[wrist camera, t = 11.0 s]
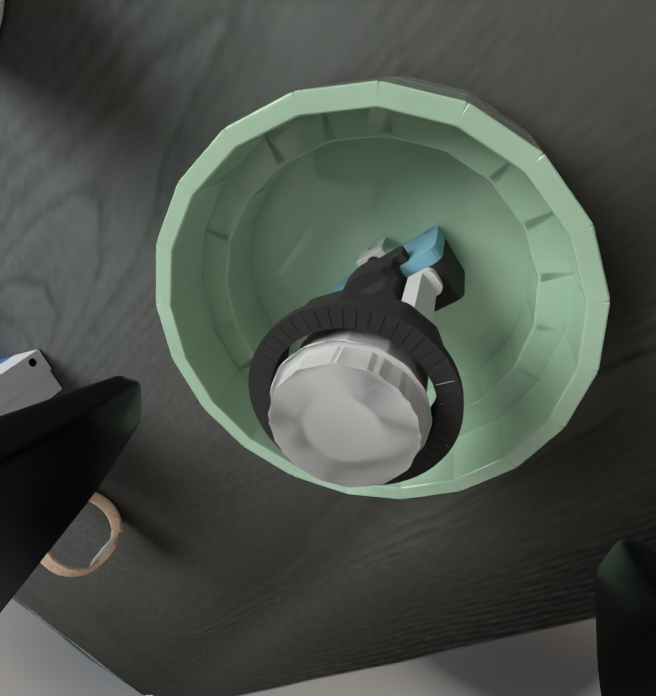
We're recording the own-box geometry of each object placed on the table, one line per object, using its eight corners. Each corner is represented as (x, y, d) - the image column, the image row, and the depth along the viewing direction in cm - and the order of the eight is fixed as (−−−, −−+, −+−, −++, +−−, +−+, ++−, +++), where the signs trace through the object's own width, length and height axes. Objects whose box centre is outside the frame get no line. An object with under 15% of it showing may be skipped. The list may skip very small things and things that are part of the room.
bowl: (651, 133, 16) (725, 163, 11) (490, 449, 24) (495, 544, 19) (239, 35, 17) (156, 27, 13) (212, 362, 25) (154, 430, 20)
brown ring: (121, 529, 34) (72, 594, 30) (65, 485, 33) (7, 546, 29) (140, 515, 33) (92, 582, 29) (83, 469, 32) (25, 531, 28)
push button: (350, 362, 22) (279, 545, 14) (281, 264, 21) (153, 403, 12) (491, 296, 19) (507, 479, 11) (421, 175, 18) (378, 280, 9)
